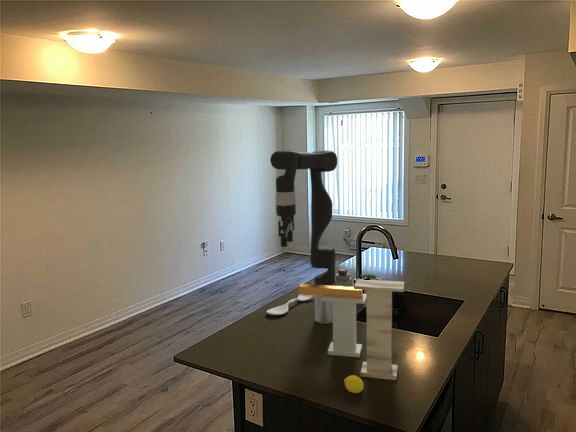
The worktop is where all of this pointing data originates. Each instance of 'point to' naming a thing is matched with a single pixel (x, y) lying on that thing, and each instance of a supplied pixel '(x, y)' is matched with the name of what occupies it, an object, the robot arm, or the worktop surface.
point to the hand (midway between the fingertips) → (287, 244)
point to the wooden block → (330, 291)
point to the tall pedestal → (379, 327)
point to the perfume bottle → (343, 278)
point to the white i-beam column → (344, 326)
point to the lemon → (353, 384)
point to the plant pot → (371, 277)
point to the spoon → (284, 308)
